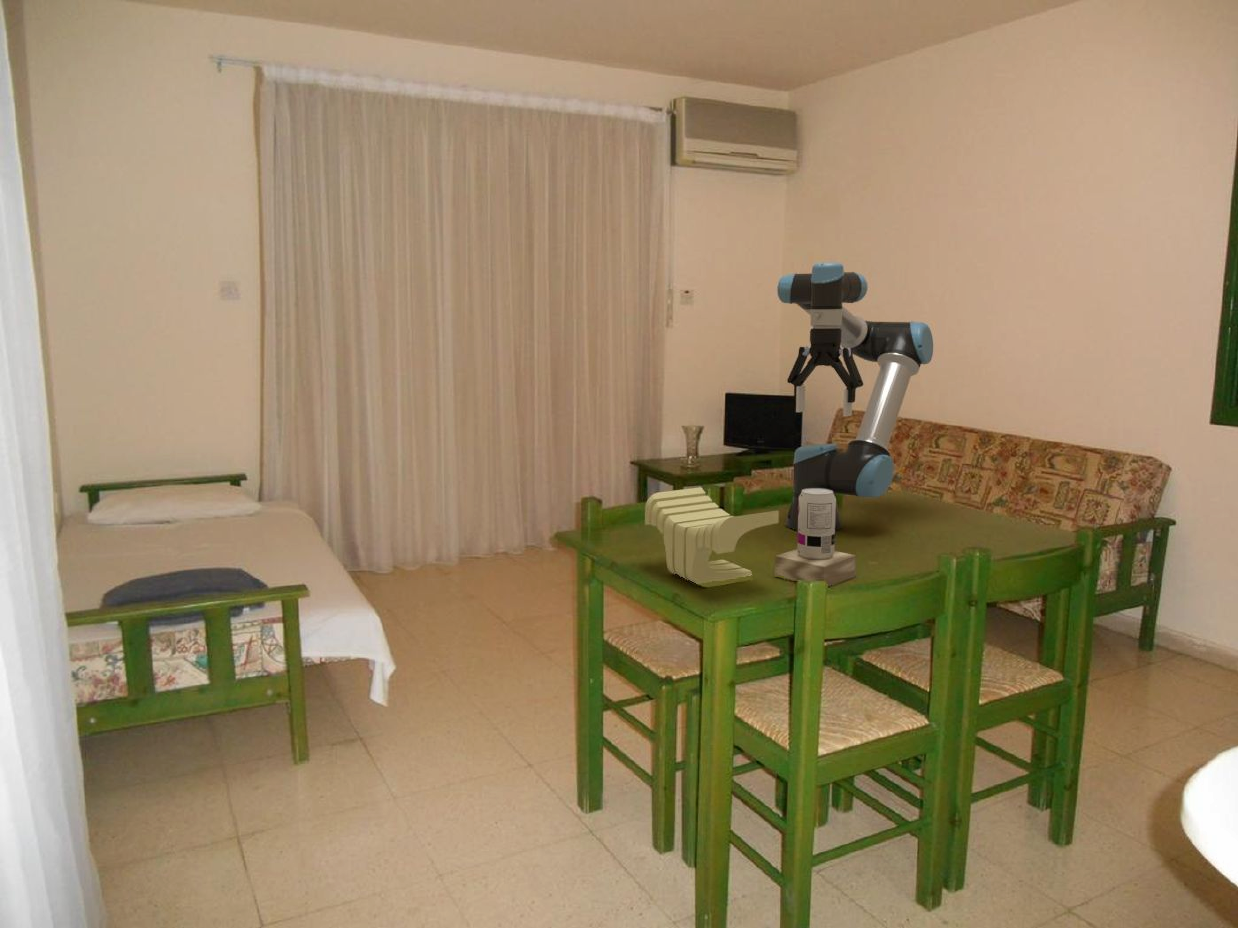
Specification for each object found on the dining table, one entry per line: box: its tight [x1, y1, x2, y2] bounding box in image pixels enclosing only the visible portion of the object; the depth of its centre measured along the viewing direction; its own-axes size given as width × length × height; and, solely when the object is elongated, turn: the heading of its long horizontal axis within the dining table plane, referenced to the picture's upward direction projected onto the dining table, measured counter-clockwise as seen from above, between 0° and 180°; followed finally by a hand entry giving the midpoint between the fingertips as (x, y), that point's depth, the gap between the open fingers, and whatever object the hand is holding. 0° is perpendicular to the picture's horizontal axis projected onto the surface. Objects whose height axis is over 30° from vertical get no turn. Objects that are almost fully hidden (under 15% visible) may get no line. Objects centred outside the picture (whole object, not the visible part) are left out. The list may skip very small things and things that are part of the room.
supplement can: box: [796, 488, 837, 560], centre depth 209 cm, size 8×8×15 cm
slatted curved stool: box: [644, 486, 780, 585], centre depth 209 cm, size 30×16×18 cm, turn 29°
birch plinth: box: [774, 548, 857, 586], centre depth 210 cm, size 13×13×5 cm
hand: (823, 414), depth 228 cm, fingers open, 13 cm apart
